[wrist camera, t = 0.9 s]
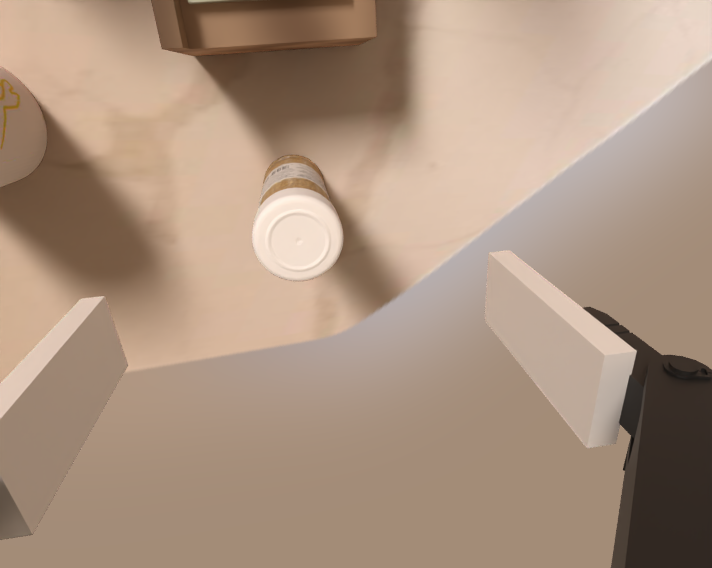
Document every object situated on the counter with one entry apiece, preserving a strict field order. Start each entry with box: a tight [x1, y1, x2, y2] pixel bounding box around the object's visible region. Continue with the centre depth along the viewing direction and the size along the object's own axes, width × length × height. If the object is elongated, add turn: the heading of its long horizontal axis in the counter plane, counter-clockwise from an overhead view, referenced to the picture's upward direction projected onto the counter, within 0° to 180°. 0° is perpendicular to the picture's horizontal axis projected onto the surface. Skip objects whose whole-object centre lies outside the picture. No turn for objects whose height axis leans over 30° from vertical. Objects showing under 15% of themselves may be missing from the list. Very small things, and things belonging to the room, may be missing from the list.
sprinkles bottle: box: [252, 155, 343, 281], centre depth 28 cm, size 5×5×13 cm
